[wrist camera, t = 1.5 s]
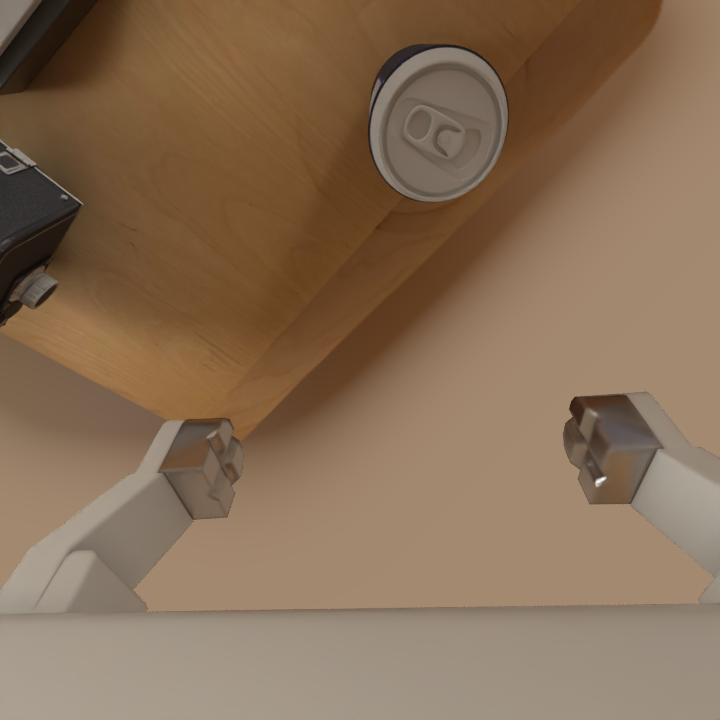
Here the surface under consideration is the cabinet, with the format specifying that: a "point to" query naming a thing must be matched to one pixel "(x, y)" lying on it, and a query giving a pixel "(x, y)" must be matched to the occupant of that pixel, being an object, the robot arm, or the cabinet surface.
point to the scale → (33, 36)
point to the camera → (29, 231)
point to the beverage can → (436, 121)
